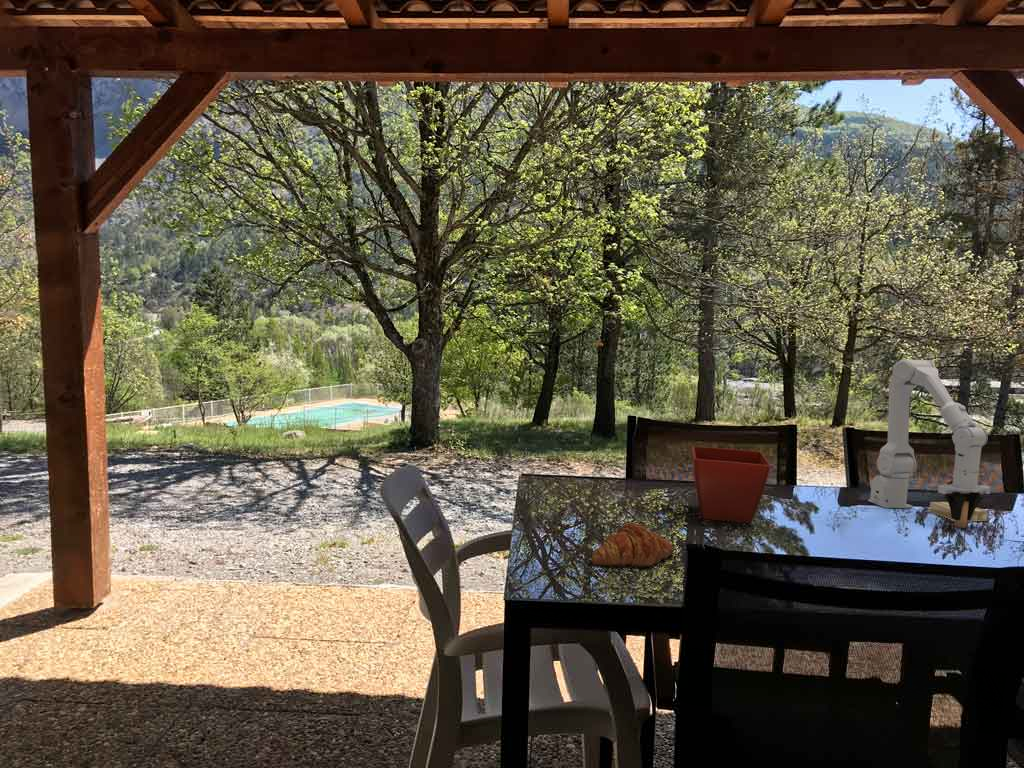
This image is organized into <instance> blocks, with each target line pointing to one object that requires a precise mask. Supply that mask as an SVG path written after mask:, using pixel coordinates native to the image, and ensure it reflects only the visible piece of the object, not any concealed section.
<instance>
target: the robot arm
mask: <svg viewBox="0 0 1024 768" xmlns="http://www.w3.org/2000/svg"><path fill="white" fill-rule="evenodd" d="M939 376H940V375H939V370H938V368H937V367H936V366H935V364H934V362H933V361H931V360H929V359H922V360H921V359H907V358H903V359H900V360H899V361H897V362H896V363H895V364H894V365H893V366H892V376H891V379H890V381H889V385H888V386H889V387H888V415H887V416H888V417H887V442H886V444H885V445H883V446H882V447H881V448H880V450H879V455H878V458H877V459H876V466H877V470H878V471H879V474H880V475H875V476H874V477H873V478H872V480H871V485H870V497H869V499H868V500H867V501H868V502H870V503H872V504H874V505H877V506H879V507H883V508H884V509H895V508H896V509H897V508H898V509H905V508H907V509H911V508H914V506H913V505H912V504H909V503H907V500H908V499H907V498H908V490H909V480H910V477H911V475H912V474H913V473H914V472H915V470H916V468H917V460H916V458H915V450H914V448H913V447H912V446H911V445H910V444H909V433H910V432H909V431H910V430H909V429H910V427H909V426H910V403H911V402H910V401H911V391H913V390H914V389H915V388H917V386H920V387H923V388H925V389H926V390H927V392H928V393H929V394H930V395H931V397H932V398H933V399H934V400H935V402H936V403H937V404H938V406H939V407H940V408H941V410H940V417H941V418H942V419H943V421H944V422H945V423H946V425H947V426H948V427H949V429H950V431H951V432H952V433H953V434H952V435H951V439H952V442H953V444H954V451H955V455H954V457H955V459H954V469H953V474H952V475H953V477H952V479H953V484H949V485H947V484H944V485H943V484H941V485H938V486H937V487H938V488H937V493H939V494H941V495H944V496H945V498H946V500H947V501H946V502H948V503H949V506H950V510H951V516H952V519H955V520H960V517H961V511H962V507H963V504H964V502H965V501H968V502H969V507H968V516H967V520H971V517H972V515H973V513H974V511H975V509H976V507H977V506H978V505H979V504H981V503H980V502H981V501H982V500H983V499H984V496H983V494H985V495H990V494H991V486H988V485H986V484H985V485H983V484H982V485H979V484H978V482H979V473H980V463H981V455H982V448H983V447H984V446H985V445H986V444H987V443H988V438H989V437H988V432H987V431H986V429H985V428H984V427H983V426H981V425H978V424H977V423H976V422H975V420H973V419H972V418H971V416H970V415H969V414H968V412H967V408H966V406H965V405H963V404H961V403H959V402H955V401H954V400H953V398H952V397H951V395H950V393H949V391H948V390H947V388H946V386H945V385H944V383H943V381H942V380H941V378H940V377H939ZM979 493H981V494H982V495H979ZM977 508H978V507H977Z"/></svg>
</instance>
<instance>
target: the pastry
mask: <svg viewBox="0 0 1024 768" xmlns="http://www.w3.org/2000/svg"><path fill="white" fill-rule="evenodd" d="M674 552H675V548H674V546H673V544H672V542H670V541H669V540H668V539H666V538H663V537H661V536H660V535H658V534H657V533H655V532H654V531H653V532H652V531H650V530H649V529H647V528H646V527H645V526H643V525H640V524H639V523H626V524H624V525H621V526H620V527H619V528H618V530H617V532H616V533H610V534H608V535H607V536H606V538H605V540H604V541H603V542H602V544H601V545H600V546H599V547H596V548H595V549H594V550H593V552H592V556H591V558H590V562H591V564H592V565H594V566H596V567H615V568H624V567H630V568H634V567H635V568H642V569H643V568H651V567H654V566H657V565H658V564H660V563H661V561H664V560H667V558H669V557H671V556H673V554H674Z"/></svg>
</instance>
